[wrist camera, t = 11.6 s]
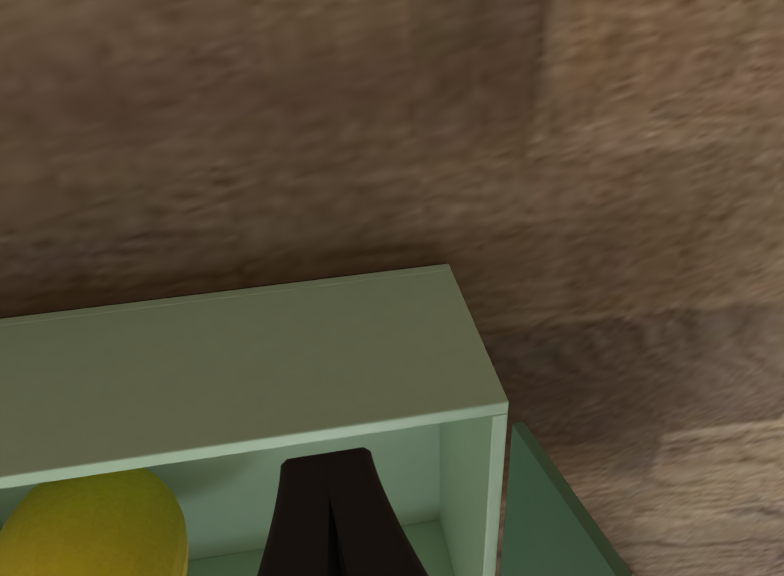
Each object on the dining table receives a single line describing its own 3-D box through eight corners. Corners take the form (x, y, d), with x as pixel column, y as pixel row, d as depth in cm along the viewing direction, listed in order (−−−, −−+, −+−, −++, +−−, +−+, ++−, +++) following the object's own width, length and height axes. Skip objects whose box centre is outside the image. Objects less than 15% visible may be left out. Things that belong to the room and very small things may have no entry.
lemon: (13, 501, 24) (-81, 757, 17) (49, 390, 21) (-45, 638, 15) (170, 527, 26) (140, 764, 19) (219, 428, 23) (203, 661, 17)
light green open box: (448, 262, 22) (509, 402, 16) (446, 515, 29) (488, 667, 24) (-114, 332, 20) (-248, 513, 14) (36, 583, 27) (-18, 764, 22)
